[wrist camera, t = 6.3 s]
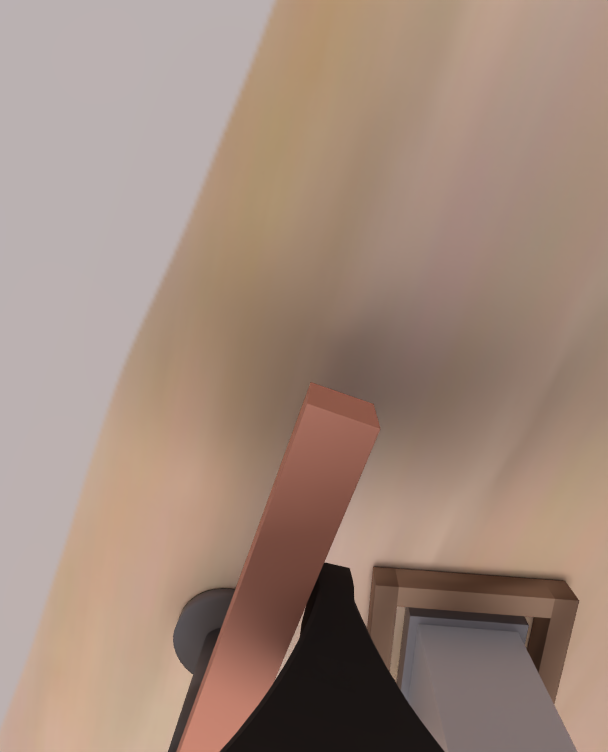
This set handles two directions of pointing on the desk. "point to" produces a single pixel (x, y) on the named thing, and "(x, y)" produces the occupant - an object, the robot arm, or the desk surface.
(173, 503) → the desk surface
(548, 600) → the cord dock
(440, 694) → the grey plug
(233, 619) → the salmon pink long bar
